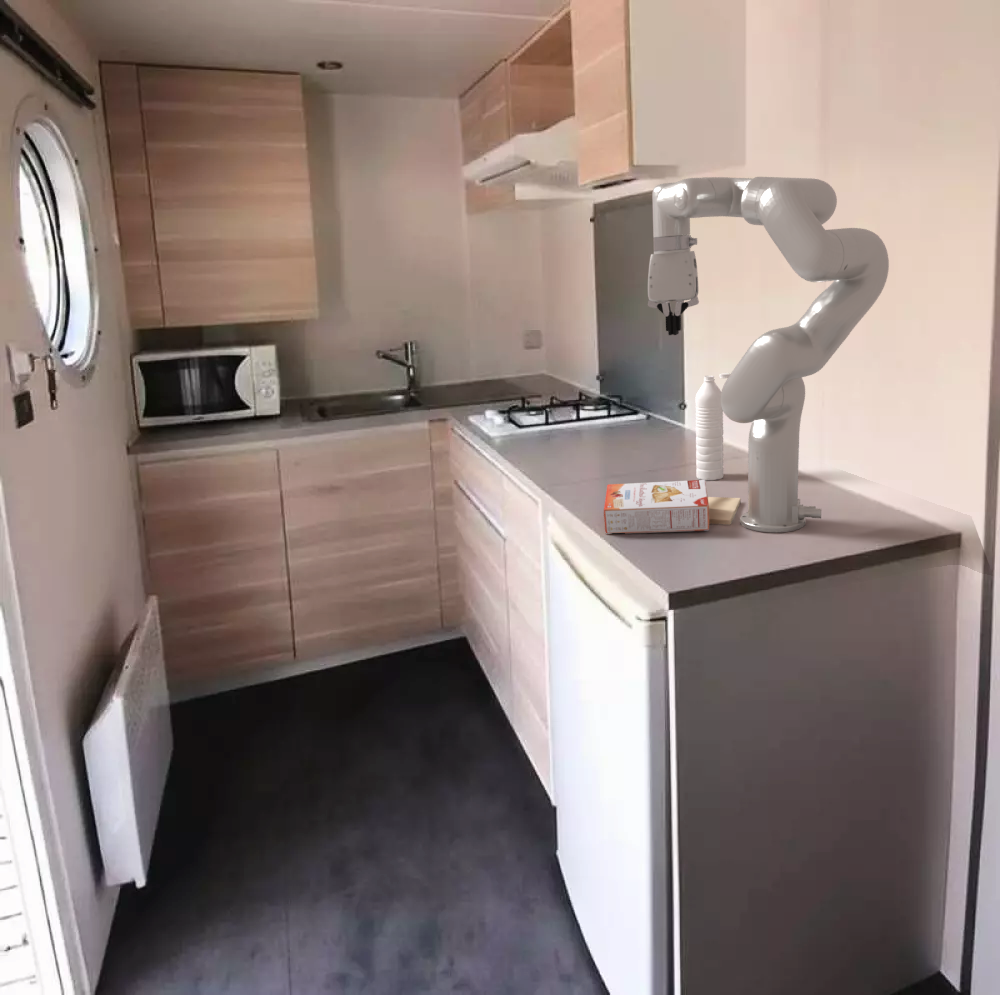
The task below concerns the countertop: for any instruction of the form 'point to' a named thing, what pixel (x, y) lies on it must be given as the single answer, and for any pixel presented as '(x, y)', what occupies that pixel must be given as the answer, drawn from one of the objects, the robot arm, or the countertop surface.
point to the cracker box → (656, 507)
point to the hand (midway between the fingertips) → (673, 334)
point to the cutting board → (722, 509)
